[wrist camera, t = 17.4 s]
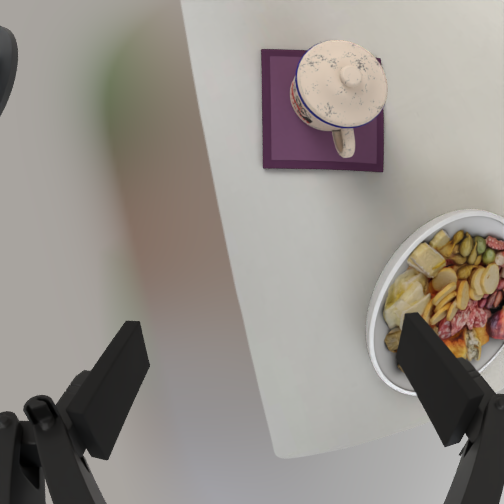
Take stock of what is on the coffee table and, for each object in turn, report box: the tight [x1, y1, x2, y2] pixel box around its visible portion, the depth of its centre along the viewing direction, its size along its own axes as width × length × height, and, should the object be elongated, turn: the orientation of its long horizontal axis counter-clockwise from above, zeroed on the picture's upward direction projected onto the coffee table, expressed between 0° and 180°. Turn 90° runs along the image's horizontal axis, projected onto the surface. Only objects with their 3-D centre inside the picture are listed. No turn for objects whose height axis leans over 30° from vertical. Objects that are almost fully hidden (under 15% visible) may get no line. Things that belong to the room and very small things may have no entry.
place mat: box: [261, 49, 384, 172], centre depth 35 cm, size 15×15×1 cm
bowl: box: [366, 209, 504, 396], centre depth 39 cm, size 30×30×8 cm
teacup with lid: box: [290, 40, 388, 158], centre depth 29 cm, size 12×9×12 cm
